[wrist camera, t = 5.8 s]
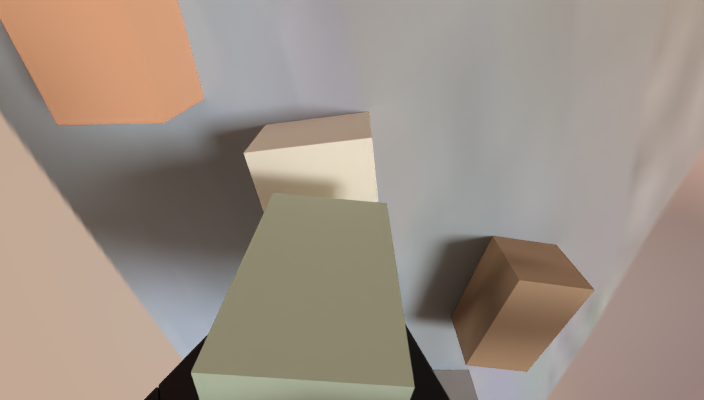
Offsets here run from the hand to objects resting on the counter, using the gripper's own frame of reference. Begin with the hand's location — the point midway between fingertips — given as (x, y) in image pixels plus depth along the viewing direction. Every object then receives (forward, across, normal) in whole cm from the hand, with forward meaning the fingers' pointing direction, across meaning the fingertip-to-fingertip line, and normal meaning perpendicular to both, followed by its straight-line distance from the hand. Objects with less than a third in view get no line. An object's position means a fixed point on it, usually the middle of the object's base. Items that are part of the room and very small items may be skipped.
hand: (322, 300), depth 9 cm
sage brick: (+1, 0, 0) cm, 1 cm away
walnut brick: (+5, -9, +4) cm, 11 cm away
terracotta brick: (+5, +7, -7) cm, 11 cm away
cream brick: (+6, 0, 0) cm, 6 cm away
